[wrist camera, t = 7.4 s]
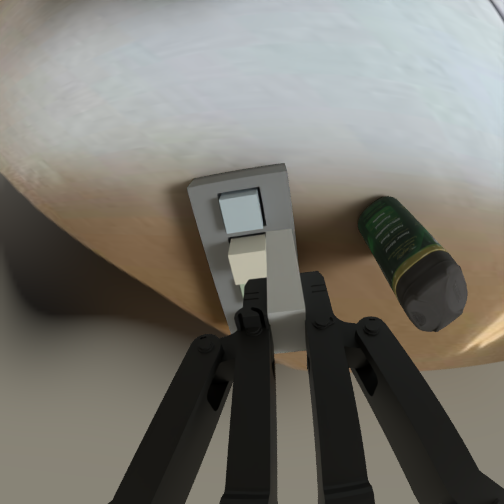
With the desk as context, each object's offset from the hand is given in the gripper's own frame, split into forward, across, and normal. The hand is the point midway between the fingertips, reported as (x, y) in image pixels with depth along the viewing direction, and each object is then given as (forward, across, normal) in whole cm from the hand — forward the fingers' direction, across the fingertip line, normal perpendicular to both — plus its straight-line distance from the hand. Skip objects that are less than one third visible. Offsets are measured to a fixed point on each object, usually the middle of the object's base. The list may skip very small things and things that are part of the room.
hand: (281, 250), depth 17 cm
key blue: (+20, -4, -5) cm, 20 cm away
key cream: (+17, -4, -10) cm, 20 cm away
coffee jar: (+21, +16, -11) cm, 29 cm away
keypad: (+21, -4, -14) cm, 25 cm away
